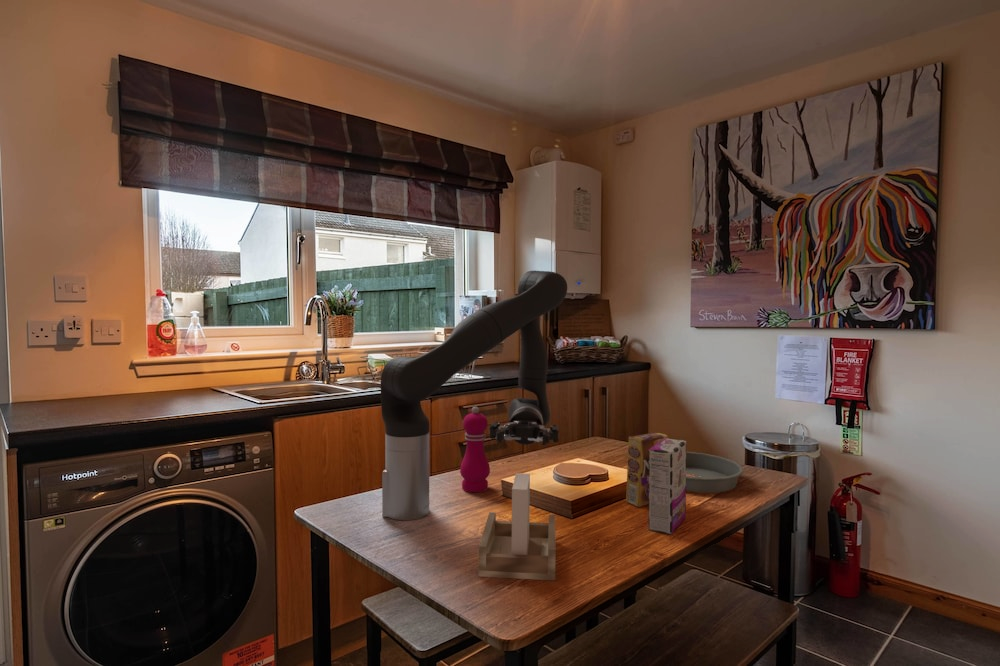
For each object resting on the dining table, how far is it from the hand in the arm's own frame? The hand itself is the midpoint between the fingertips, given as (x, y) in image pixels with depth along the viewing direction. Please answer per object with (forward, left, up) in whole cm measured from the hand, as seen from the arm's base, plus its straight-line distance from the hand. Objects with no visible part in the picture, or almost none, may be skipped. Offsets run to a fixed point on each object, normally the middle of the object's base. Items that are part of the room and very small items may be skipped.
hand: (522, 438), depth 110 cm
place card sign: (+1, -14, -17) cm, 22 cm away
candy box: (+27, +19, -18) cm, 38 cm away
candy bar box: (+29, +6, -18) cm, 35 cm away
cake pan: (+42, +38, -19) cm, 59 cm away
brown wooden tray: (0, -13, -18) cm, 22 cm away
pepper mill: (-13, +24, -18) cm, 33 cm away
